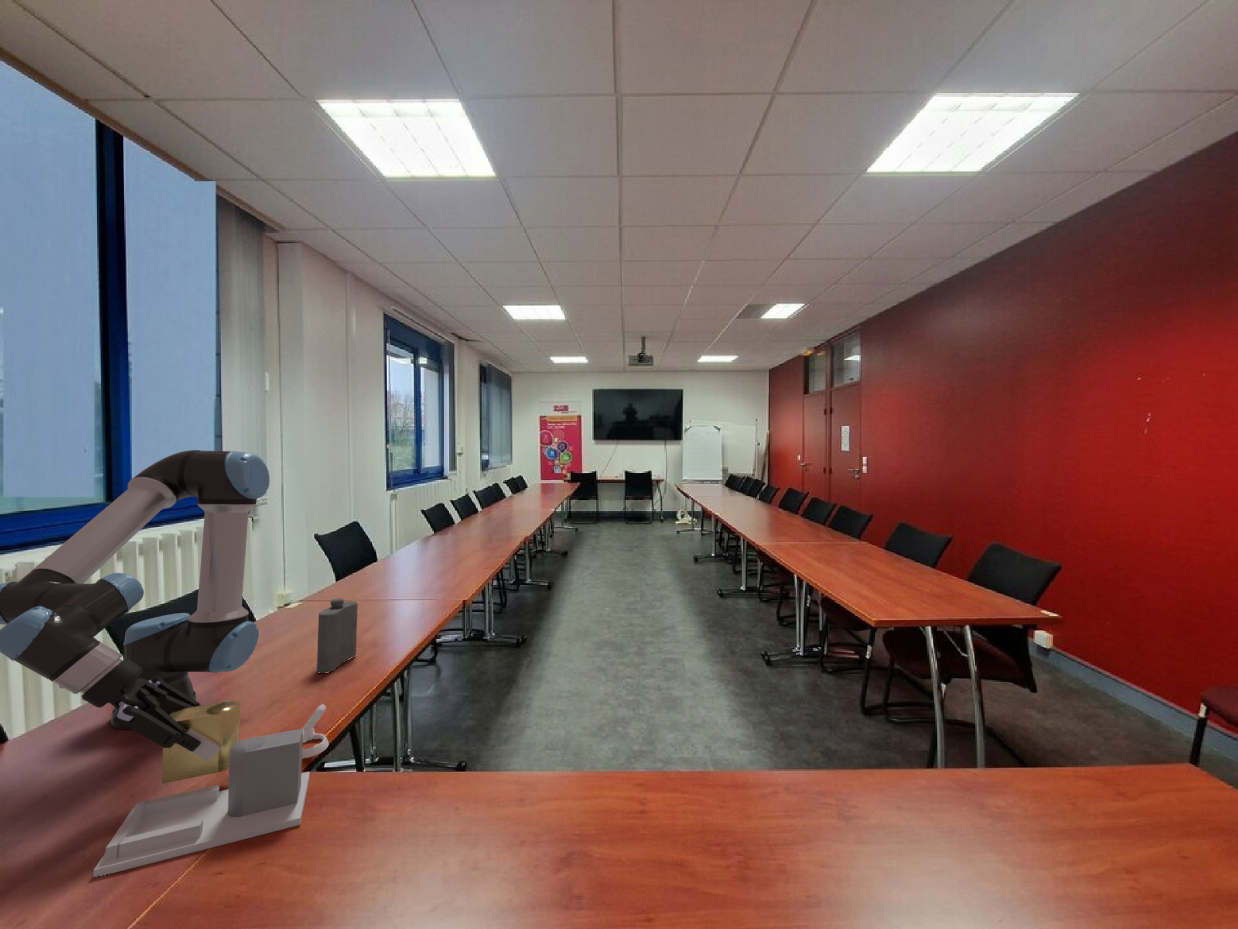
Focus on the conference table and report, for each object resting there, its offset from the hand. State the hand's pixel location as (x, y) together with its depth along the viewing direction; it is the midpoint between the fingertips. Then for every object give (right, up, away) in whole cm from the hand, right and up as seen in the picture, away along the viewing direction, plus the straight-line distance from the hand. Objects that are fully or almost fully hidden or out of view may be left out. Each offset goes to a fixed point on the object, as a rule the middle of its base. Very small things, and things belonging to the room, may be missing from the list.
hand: (218, 745), depth 93 cm
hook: (+9, -9, +13) cm, 18 cm away
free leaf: (-2, -4, -1) cm, 4 cm away
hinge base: (+7, -8, -9) cm, 14 cm away
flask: (-11, -8, +57) cm, 59 cm away
